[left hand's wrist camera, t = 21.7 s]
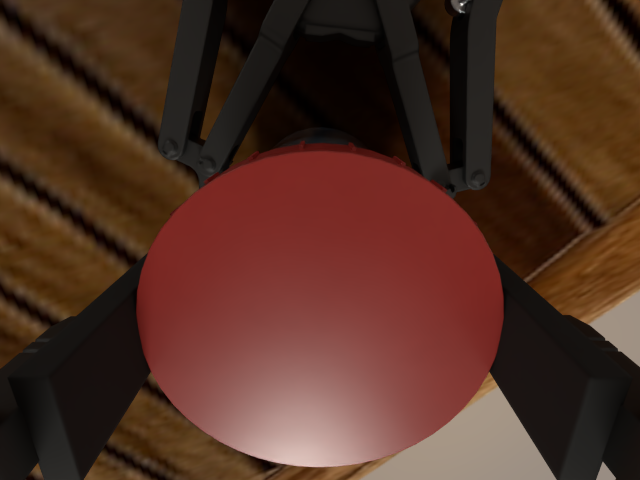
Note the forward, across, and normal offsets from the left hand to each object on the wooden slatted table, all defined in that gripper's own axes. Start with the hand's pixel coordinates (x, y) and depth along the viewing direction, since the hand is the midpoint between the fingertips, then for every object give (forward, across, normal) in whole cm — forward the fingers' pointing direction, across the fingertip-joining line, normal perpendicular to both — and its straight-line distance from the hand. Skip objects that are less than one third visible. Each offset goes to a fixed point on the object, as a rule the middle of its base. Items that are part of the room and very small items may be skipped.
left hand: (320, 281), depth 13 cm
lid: (-3, 0, 0) cm, 3 cm away
